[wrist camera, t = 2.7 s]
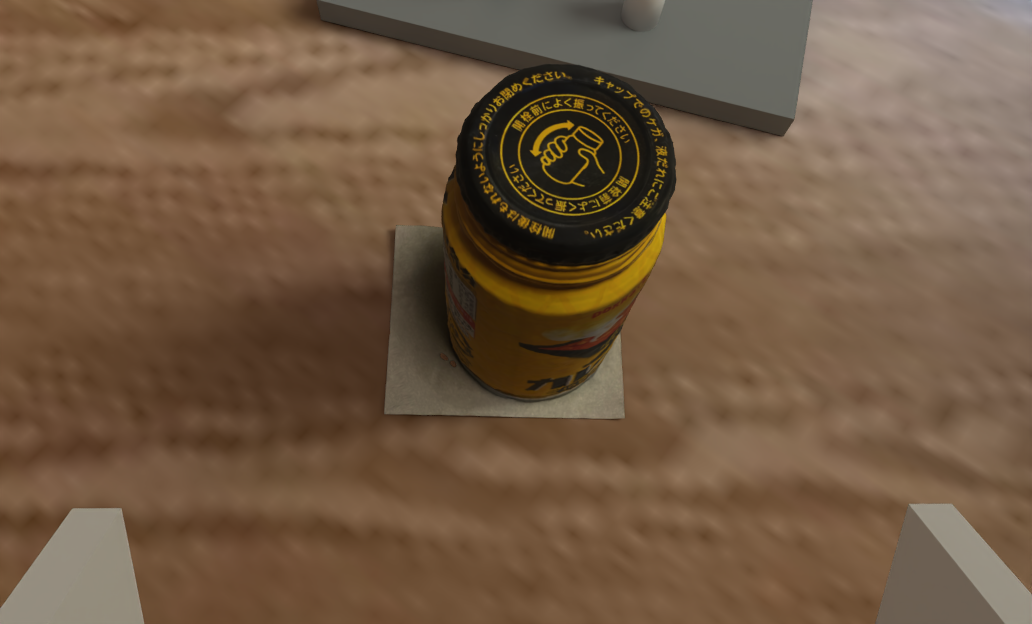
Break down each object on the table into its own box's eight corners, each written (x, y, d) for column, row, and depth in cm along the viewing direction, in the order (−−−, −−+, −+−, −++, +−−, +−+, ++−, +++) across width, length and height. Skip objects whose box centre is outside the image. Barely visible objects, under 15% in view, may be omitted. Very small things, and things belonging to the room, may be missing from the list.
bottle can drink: (623, 419, 29) (725, 289, 18) (384, 415, 28) (332, 278, 17) (615, 235, 31) (699, 21, 20) (396, 229, 31) (357, 5, 20)
